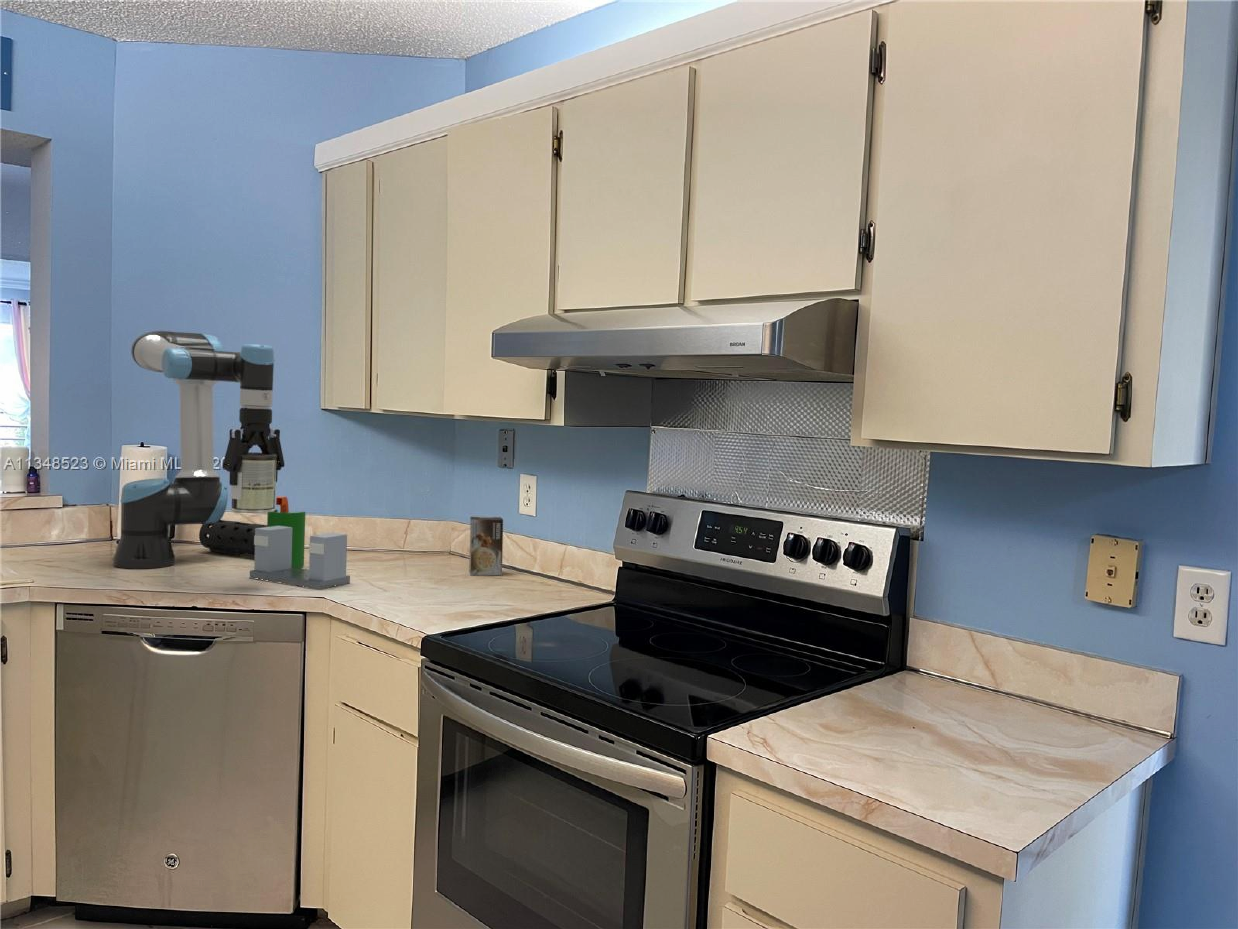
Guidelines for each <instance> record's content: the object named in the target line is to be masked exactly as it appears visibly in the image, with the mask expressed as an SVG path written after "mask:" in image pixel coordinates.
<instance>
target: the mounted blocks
mask: <svg viewBox="0 0 1238 929" xmlns="http://www.w3.org/2000/svg"><path fill="white" fill-rule="evenodd" d="M254 545H255V555H254V563H253V564H254V569H253V570H258V571H264V572H272V571H278V570H284V569H289V568H291V563H292V527H285V526H272V527H263V528H255V536H254ZM347 552H348V534H346V533H345V534H344V533H339V532H327V533H320V534H314V535H309V542H308V553H309V557H308V558H309V562H308V563H309V565H308V569H309V579H314V580H320V581H327V580H332V579H337V578H342V577H346V575H347V562H348V561H347V557H348V555H347V554H348V553H347Z"/></svg>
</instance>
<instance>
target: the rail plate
mask: <svg viewBox="0 0 1238 929" xmlns="http://www.w3.org/2000/svg"><path fill="white" fill-rule="evenodd" d="M251 578H258V579H263V580H268V581H267V582H269V581H272V582H271V583H275V582H281V583H286V584H285V585H287V584H290V585H289V586H293V585H299V586H304V587H303V588H305V587H308V588H307V589H311V588H313V590H317V589H321V590H325V589H324V588H326V589H328V588H327V587H330V588H332V587H331V586H335V585H340V586H344V585H348V584H347V583H349V584H350V583H351V575H348V574H346V577H342V578H337V579H332V580H327V581H320V580H314V579H309V568H303V567H302V568H296V567H291V568H289V569H284V570H278V571H272V572H264V571H258V570H254V569H252V570H249V579H251ZM263 580H262V581H263ZM281 583H280V584H281ZM343 584H344V585H343ZM299 586H298V587H299ZM335 587H336V586H335Z"/></svg>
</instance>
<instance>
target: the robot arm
mask: <svg viewBox="0 0 1238 929" xmlns="http://www.w3.org/2000/svg"><path fill="white" fill-rule="evenodd" d="M130 349H131V353H130V354H131V357H132V359H133V361H134V363H135V364H136V365H138V366H139V367H140V368H142V369H145V370H148V371H151V372H154V373H155V372H157V373H163V375H164V376H165V378H168V379H173V382H174V383H176V385H177V386H179V423H180V424H179V426H180V427H179V429H180V430H179V435H180V436H179V437H180V439H179V440H180V444H179V445H180V471H179V472H178V474H176V475H175V477H174V483H171V481H170V479H168V478H165V477H164V478H161V477H160V478H159V477H158V478H145V479H137V480H134V481H130V482H127V483H125V484H124V485H123V486H122V489H121V495H120V496H121V497H120V506H121V507H120V538H119V540H118V543H117V546H116V549H115V553H114V554H113V557H112V560H113V561H112V564H113V567H116V568H121V569H133V570H134V569H157V568H164V567H169V566H173V565H175V562H176V561H175V560H176V557H175V556H176V555H175V553H174V550H173V546H172V543H171V541H170V537H169V526H183V525H203V524H206V523H215V522H218V521H219V520H222V519H223V517H224V515H225V513H226V509H227V506H228V499H229V492H228V487H227V484H226V483H225V482H222V481H221V479H220V478H221V476H220V475H219V474H218V473H217V472H216V471H215V470H214V468H215V464H214V462H215V461H214V458H215V457H214V456H215V455H214V450H215V449H214V396H213V393H214V392H213V391H214V390H213V389H214V387H215V385H216V384H218V382H226V383H227V382H228V383H229V382H230V383H240V384H239V388H240V389H239V405H240V406H241V407H240V409H239V411H238V412H239V414H238V415H239V417H238V418H239V420H238V421H239V423H240V429H230V430H229V438H228V439H229V440H228V443H227V448H226V452H225V456H224V458H223V463H222V469H223V470H225V471H226V472H229V485H230V486H231V487H230V499H231V500H232V499H241V495H242V472H239V470H240V468H241V466H242V456H237V455H247V454H248V452H249V451H250V449H251V450H252V448H253V446H257V447H258V448H259V449H260V451H261V453H262V454H269V455H271V454H276V455H277V458H276V483H277V482H278V474H279V473H278V471H281V470H282V468H284V467H285V458H284V453H283V450H282V445H281V440H280V439H281V438H280V437H281V436H280V435H281V430H280V429H279V428H278V429H277V428H271V427H270V425H271V424H272V422H273V410H272V409H271V407H273V392H274V391H273V390H274V370H275V369H274V368H275V367H274V365H275V356H274V354H275V352H274V351H275V350H274V348H273V347H272V346H271V345H267V344H256V343H255V344H254V343H244V344H242V346H241V348H240V352H238V351H226V350H225V349H224V346H223V343H222V342H221V340H220V339H219V338H218V337H216V336H215V335H213V334H212V335H210V334H205V333H196V332H181V331H170V330H169V331H167V330H156V331H155V330H154V331H149V332H146V333H144V334H141V335H140V336H138V337H137V338H136V339H135V340H134V341H133V343H132V345H131V348H130ZM276 488H277V486H276V484H275V493H276Z"/></svg>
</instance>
